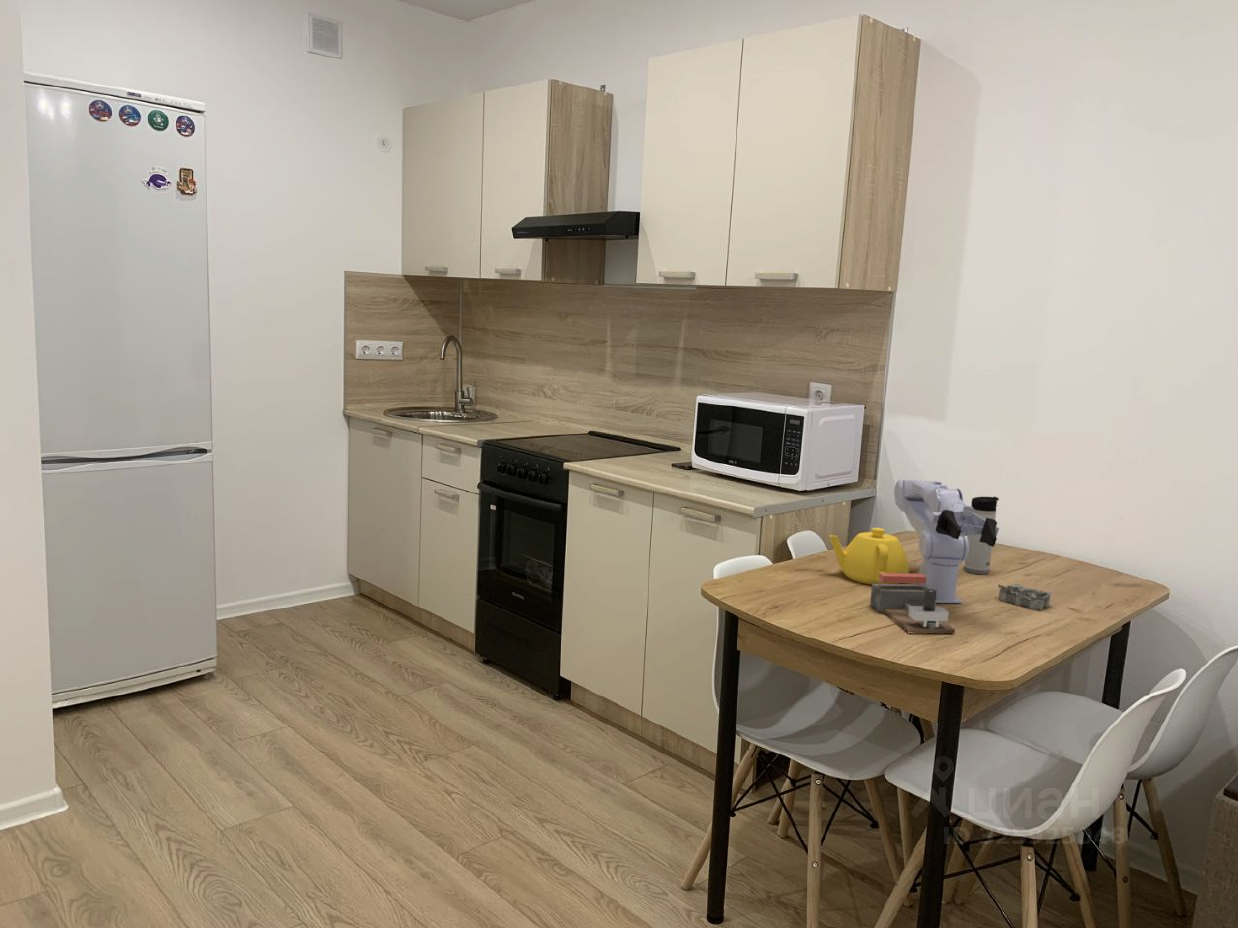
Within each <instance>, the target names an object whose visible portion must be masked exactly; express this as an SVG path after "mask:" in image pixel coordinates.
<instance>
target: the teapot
mask: <svg viewBox="0 0 1238 928" xmlns="http://www.w3.org/2000/svg"><path fill="white" fill-rule="evenodd" d="M885 532H886V529H884V528H881V527H872V528H871V531H868V532H867V531H866V532H860V533H857V534H856V535H855V536H854V538H853V539H852V540H851V541H850V543H849V544H848V546H847V547H846V548H845V550H844V549H843V547H842V544H841V543H840V541H839V538H838V535H835V534H834V535H831V534H829V539H830V542H831V543H830V544H832V548H833V551H834V553H835V557H836V560H837V562H838V566H839V567H840V569H841V571H842V572H843V573H844V575H845V576H846V577H847V578H848V579H849V578H850V579H849V580H851V579H852V580H851V581H854V580H855V581H854V582H856V581H857V583H860V582H861V583H860V584H865V583H866V585H870V584H901V583H882V582H881V581H880V580H879V573H896V574H910V565H909V561H908V557H907V554H906V552H905V550H904V547H903V546H902V543H901V542H900V540H899V539H898V538H897V536H894V535H892V534H887V533H885Z"/></svg>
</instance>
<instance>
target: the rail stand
mask: <svg viewBox="0 0 1238 928" xmlns="http://www.w3.org/2000/svg"><path fill="white" fill-rule="evenodd" d="M925 589H929V588H927V587H926V586H924V585H918V584H908V583H900V584H872V585H871V593H870V603H869V606H870V605H871V606H870V607H872V608H873V607H874V608H875V609H876V610H877V611H876V610H875V609H874V608H873V609H874V610H875V611H876V612H878V613H879V612H880V613H881V614H884V613H885V614H886V615H885V614H884V615H885V616H886V617H888V618H889V619H890V618H891V619H893V620H894V621H895V622H897V623H898V624H899V625H900V626H901V627H903V628H904V629H905V630H906V631H907V632H910V633H911V632H912V633H913V632H914V633H955V634H956V629H955V628H953V627H952V625H949V623H947V622H946V621H939V627H935V623H934V622H932V621H927V627H923V626H922V625H920V624H919V623H918V622H917V621H915V620H914V619H913V618H911V617H910V616H909V606H923V603H924V593H925ZM882 612H884V613H882ZM880 613H879V614H880ZM891 619H890V620H891ZM893 620H892V621H893ZM894 621H893V622H894ZM895 622H894V623H895ZM899 625H898V626H899ZM900 626H899V627H900ZM901 627H900V628H901ZM905 630H904V631H905ZM906 631H905V632H906ZM907 632H906V633H907Z"/></svg>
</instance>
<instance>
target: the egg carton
mask: <svg viewBox="0 0 1238 928" xmlns="http://www.w3.org/2000/svg"><path fill="white" fill-rule="evenodd" d="M997 587H998V588H999V591H998V598H997V599H998V600H1000V601H1001V602H1003V603H1012V604H1014V605H1016V606H1019V607H1020V606H1021V607H1022V606H1023V607H1027V608H1028V609H1030V610H1040V611H1043V609H1044V608H1049V607H1050V600H1051V596H1052V594H1053V591H1050V592H1047V591H1042V590H1039V589H1037V588H1035V589H1034V588H1030V587H1025V586H1024V585H1022V584H1017V583H1016V584H1010V585H1007V586H1004V585H1002V584H998V585H997Z"/></svg>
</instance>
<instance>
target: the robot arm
mask: <svg viewBox="0 0 1238 928" xmlns="http://www.w3.org/2000/svg"><path fill="white" fill-rule="evenodd" d="M942 483H943V482H942V481H937V480H934V481H929V480H913V479H912V480H908V479H904V480H903V479H898V480H897V481H896V482H895V485H894V489H893V490H894V491H893V492H894V493H893V495H894V502H895V505H896V506H897V508H898V509H899V510H900V511H901V512H903V513H904V514H905V516H906V518H907V520H908V522H909V524H910V526H911V527H913V529H914V530H915V532H916V533H917V534H918V535H919V540H918V548H919V550H920V551H919V552H920V555H921V556H922V558H923V560H922V561H921V562H920V564H919V571H918V574H923V575H924V576H926V577H927V578H926V584H924V583H917V585H924V586H926V587H927V588H929V589H934V590H936V591H937V596H936V604H963V600H961V599H960V598H958V597H956V594H957V585H958V577H959V569H960V568H959V567H960V565H962V564H963V562H965V559H966V558H967V556H968V553H969V541H968V538H967V536H972V535H980V534H981V538H980V541H979V542H983V543H986V544H987V545H989V546H992V548H993V547H995V545H996V542H997V536H998V533H999V530H1000V527H999V525H997V524H998V522H997V520H996V519H995V520H994V519H990V518H986V520H985V519H983V518H981V517H980V516H978V515H977V514H975V513H973V510H974V509H973V507H972V506H971V505H966V504H965V502H964V501H963V500H964V498H963V497H964V496H963V492H962V490H961V489H960V488H949V487H948V486H947V485H946V484H942Z"/></svg>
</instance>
